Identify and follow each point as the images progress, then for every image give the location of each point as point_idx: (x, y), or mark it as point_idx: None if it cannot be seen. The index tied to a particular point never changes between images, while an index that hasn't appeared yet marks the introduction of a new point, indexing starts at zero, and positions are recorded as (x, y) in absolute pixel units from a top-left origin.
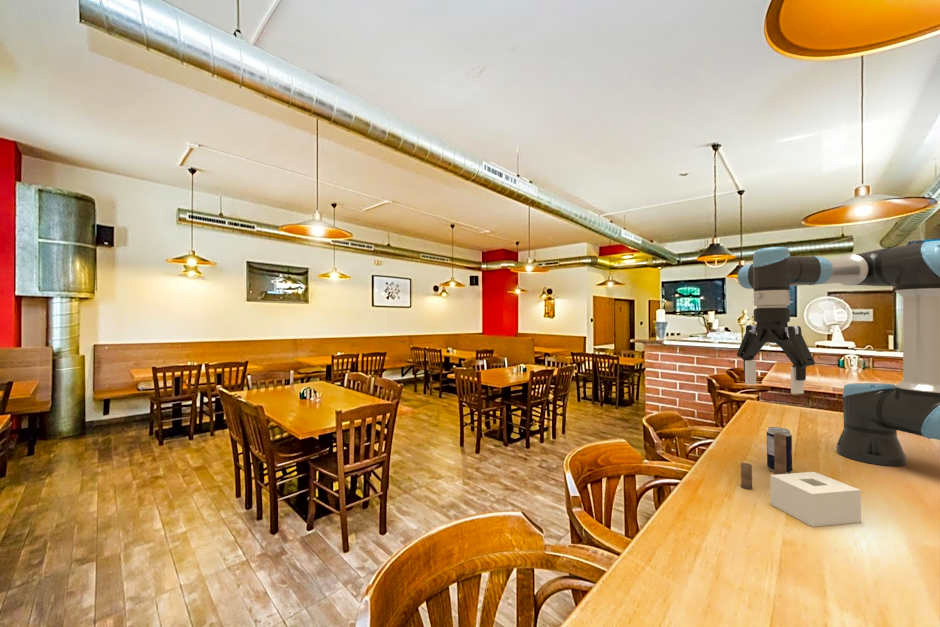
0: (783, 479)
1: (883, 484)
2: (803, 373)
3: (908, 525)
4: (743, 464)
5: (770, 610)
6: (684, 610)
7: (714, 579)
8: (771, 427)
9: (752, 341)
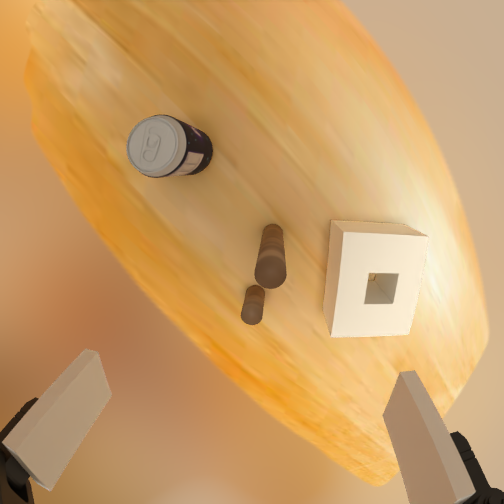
0: (354, 331)
1: (289, 19)
2: (468, 469)
3: (424, 161)
4: (250, 320)
5: None
6: None
7: None
8: (128, 148)
9: None
